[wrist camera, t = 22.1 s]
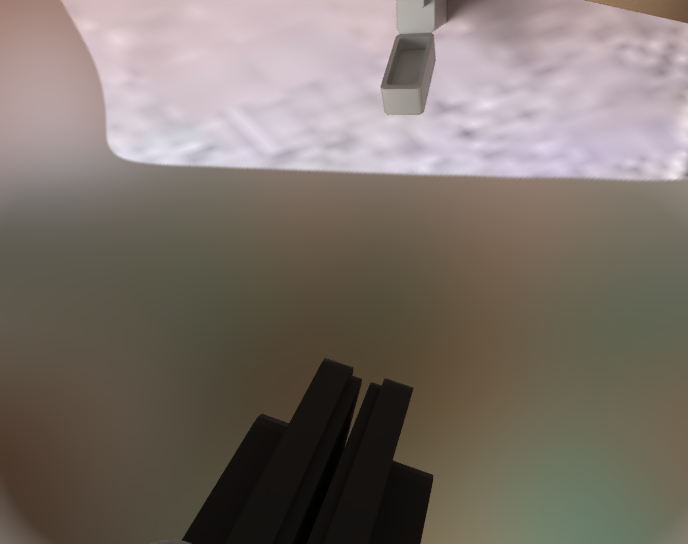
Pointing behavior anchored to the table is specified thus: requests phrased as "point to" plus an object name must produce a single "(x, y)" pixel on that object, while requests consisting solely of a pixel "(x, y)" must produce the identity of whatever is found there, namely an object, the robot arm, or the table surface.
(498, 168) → the table surface
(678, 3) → the bay
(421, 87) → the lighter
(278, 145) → the table surface
